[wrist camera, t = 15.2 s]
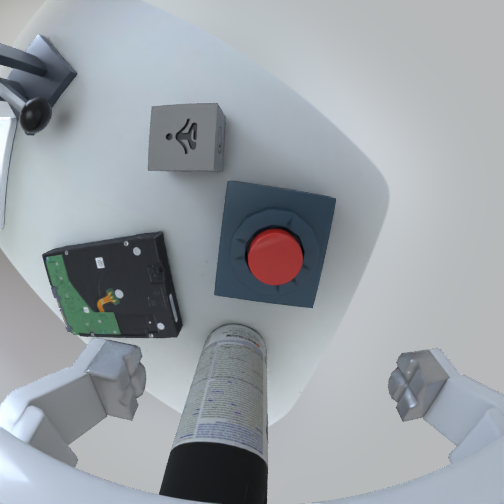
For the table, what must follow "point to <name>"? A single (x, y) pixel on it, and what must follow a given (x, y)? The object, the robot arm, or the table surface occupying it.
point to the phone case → (5, 157)
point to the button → (275, 257)
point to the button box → (263, 218)
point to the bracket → (36, 71)
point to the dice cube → (186, 137)
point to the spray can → (223, 424)
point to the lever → (27, 109)
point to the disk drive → (115, 287)
